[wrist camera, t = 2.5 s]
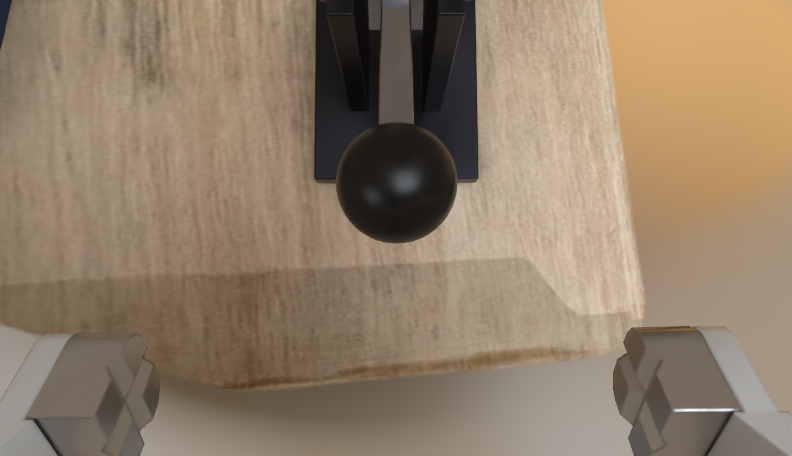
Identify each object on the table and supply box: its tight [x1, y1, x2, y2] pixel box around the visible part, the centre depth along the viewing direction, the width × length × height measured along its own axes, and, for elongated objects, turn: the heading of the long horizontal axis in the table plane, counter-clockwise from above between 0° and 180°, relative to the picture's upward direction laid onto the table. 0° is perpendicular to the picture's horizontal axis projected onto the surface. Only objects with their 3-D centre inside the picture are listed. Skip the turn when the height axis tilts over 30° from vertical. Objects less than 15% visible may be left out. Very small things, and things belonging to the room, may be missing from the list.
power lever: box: [336, 0, 457, 243], centre depth 20 cm, size 13×4×4 cm, turn 0°
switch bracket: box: [314, 0, 478, 183], centre depth 28 cm, size 12×9×13 cm
